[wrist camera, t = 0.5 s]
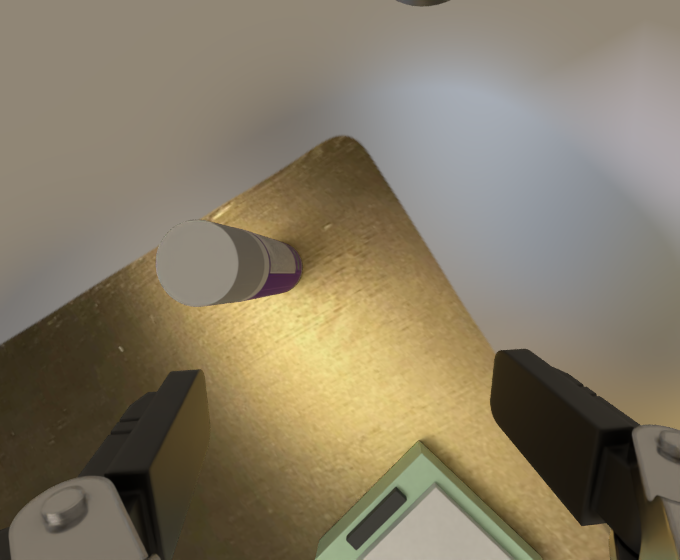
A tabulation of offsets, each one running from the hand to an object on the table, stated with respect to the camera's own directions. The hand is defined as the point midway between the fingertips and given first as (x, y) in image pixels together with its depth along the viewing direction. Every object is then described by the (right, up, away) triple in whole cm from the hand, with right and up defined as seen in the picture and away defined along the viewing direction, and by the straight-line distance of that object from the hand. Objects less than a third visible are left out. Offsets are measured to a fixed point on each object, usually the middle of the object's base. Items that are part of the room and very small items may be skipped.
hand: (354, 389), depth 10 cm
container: (-6, +4, +24) cm, 25 cm away
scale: (+7, -20, +23) cm, 31 cm away
